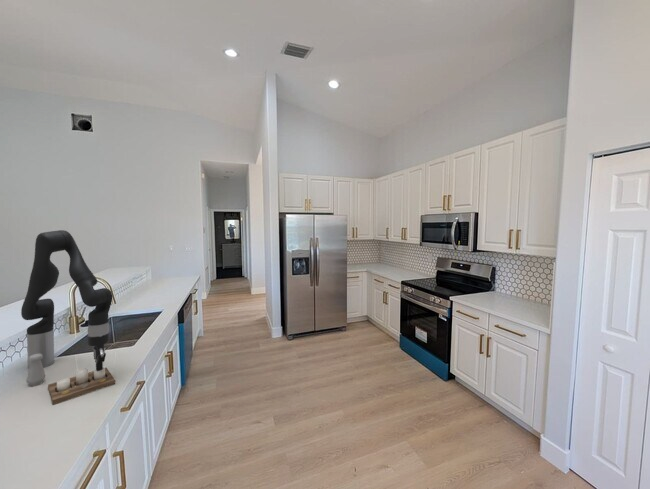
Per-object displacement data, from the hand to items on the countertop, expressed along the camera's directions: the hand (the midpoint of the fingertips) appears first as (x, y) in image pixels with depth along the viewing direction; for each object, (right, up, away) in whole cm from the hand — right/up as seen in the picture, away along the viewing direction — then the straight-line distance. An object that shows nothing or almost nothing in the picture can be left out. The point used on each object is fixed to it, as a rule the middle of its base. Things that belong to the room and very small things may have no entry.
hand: (99, 369), depth 124 cm
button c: (0, -5, 0) cm, 5 cm away
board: (-4, -5, -4) cm, 8 cm away
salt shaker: (-26, -5, -3) cm, 26 cm away
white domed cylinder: (-8, -5, -9) cm, 13 cm away
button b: (-4, -3, -4) cm, 7 cm away
